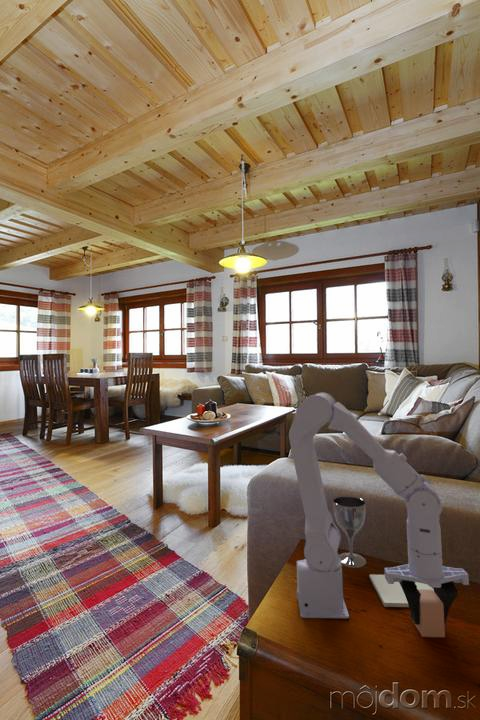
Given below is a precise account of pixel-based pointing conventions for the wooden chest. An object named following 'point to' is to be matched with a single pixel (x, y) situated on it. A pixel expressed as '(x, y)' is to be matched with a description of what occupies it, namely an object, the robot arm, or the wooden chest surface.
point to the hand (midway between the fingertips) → (428, 621)
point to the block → (431, 615)
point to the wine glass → (350, 525)
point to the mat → (393, 591)
